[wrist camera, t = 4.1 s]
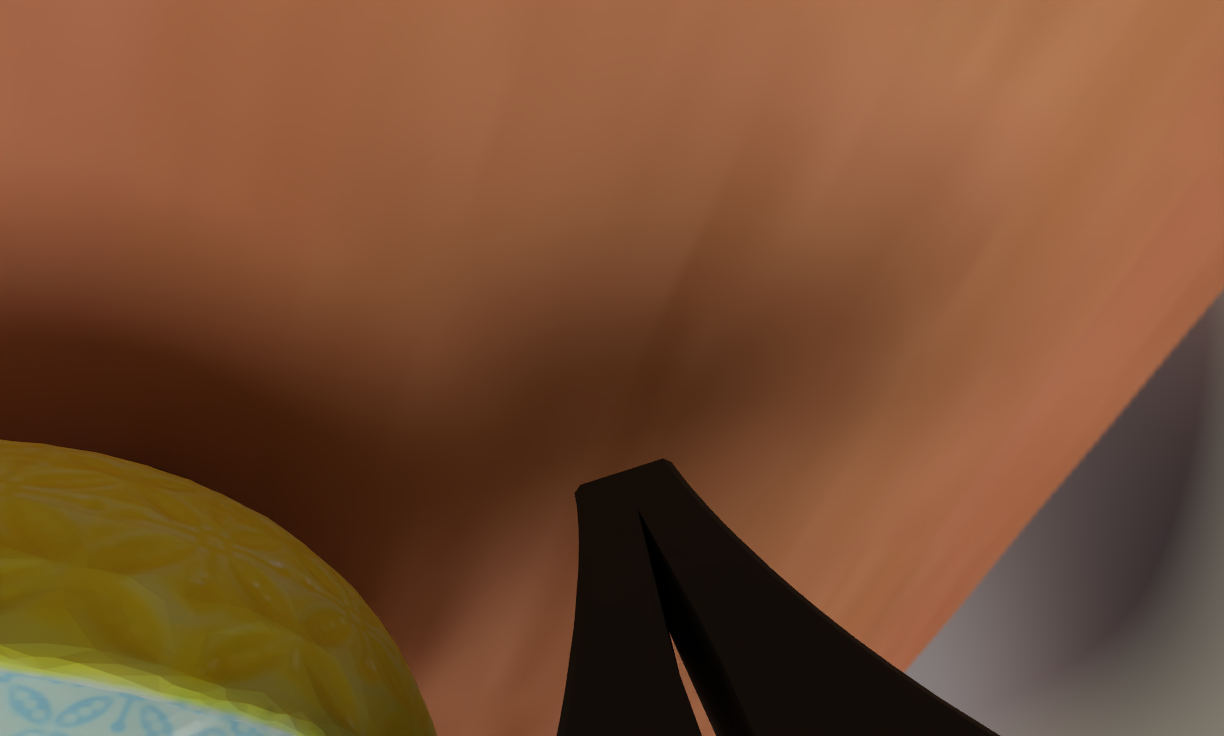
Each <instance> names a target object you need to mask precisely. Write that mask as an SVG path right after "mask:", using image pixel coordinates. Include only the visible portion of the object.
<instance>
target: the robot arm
mask: <svg viewBox="0 0 1224 736" xmlns="http://www.w3.org/2000/svg"><path fill="white" fill-rule="evenodd" d="M575 498H576V504H577V512H578V525H579V566H578V582H577V595H576V609H575V621H574V630H573V637H572V645H571V652H570V659H569V666H568V673H567V680H566V687H565V694H564V699H563V705H562V711H561V716H560V722H559V727H558V732H557V736H702V735H701V732H700V729H699V726H698V724H697V721H696V718H695V715H694V713H693V710H692V707H691V704H690V702H689V699H688V696H687V693H686V691H685V688H684V685H683V682H682V680H681V677H680V674H679V670H678V666H677V662H676V658H675V654H674V649H673V645H672V641H671V637H672V639H673V641H674V643H675V646H676V648H677V650H678V652H679V654H680V657H681V659H682V661H683V663H684V666H685V668H686V670H687V672H688V674H689V677H690V679H691V681H692V683H693V686H694V688H695V690H696V692H697V694H698V697H699V699H700V701H701V703H702V705H703V708H704V710H705V712H706V714H707V716H708V719H709V721H710V723H711V725H712V727H713V730H714V732H715V734H716V736H1000V735H998V734H997V733H995V732H993V731H992V730H990V729H989V728H987V727H985V726H984V725H982V724H980V723H979V722H977V721H976V720H974V719H973V718H971V717H969V716H968V715H966V714H965V713H963V712H961V711H960V710H958V709H957V708H955V707H953V706H952V705H950V704H949V703H947V702H946V701H944V700H942V699H941V698H939V697H938V696H936V695H935V694H933V693H932V692H930V691H929V690H928V689H926V688H925V687H923V686H921V685H920V684H919V683H917V682H916V681H914V680H913V679H912V678H910V677H909V676H907V675H906V674H904V673H903V672H902V671H900V670H899V669H897V668H896V667H894V666H893V665H891V664H890V663H889V662H887V661H886V660H885V659H883V658H882V657H881V656H879V655H878V654H876V653H875V652H874V651H872V650H871V649H870V648H868V647H867V646H866V645H864V644H863V643H861V642H860V641H859V640H857V639H856V638H855V637H853V636H852V635H851V634H850V633H848V632H847V631H846V630H844V629H843V628H842V627H841V626H839V625H838V624H837V623H835V622H834V621H833V620H832V619H830V618H829V617H828V616H827V615H825V614H824V613H823V612H822V611H820V610H819V609H818V608H817V607H816V606H814V605H813V604H812V603H811V602H810V601H808V600H807V599H806V598H805V597H804V596H803V595H801V594H800V593H799V592H798V591H797V590H795V589H794V588H793V587H792V586H791V585H789V584H788V583H787V582H786V581H785V580H784V579H783V578H782V577H780V576H779V575H778V574H777V573H776V572H775V571H774V570H772V569H771V568H770V567H769V566H768V565H767V564H766V563H765V562H764V561H763V560H762V559H761V558H760V557H759V556H757V555H756V554H755V553H754V552H753V551H752V550H751V549H750V548H749V547H748V546H747V545H746V544H745V543H744V542H743V541H742V540H741V539H739V538H738V537H737V536H736V535H735V534H734V533H733V532H732V531H731V530H730V529H729V528H728V527H727V526H726V525H725V524H724V523H723V522H722V521H721V520H720V519H719V517H718V516H717V515H716V514H715V513H714V512H713V511H712V510H711V509H710V508H709V507H708V506H707V505H706V504H705V503H704V501H703V500H702V499H701V498H700V497H699V496H698V495H697V494H696V492H695V491H694V490H693V489H692V488H691V487H690V485H689V484H688V483H687V482H686V481H685V479H684V478H683V477H682V476H681V474H680V473H679V472H678V470H677V469H676V468H675V466H674V465H673V463H672V462H670V461H667V460H665V459H660V460H657V461H654V462H651V463H648V464H645V465H641V466H638V467H635V468H632V469H629V470H626V471H623V472H619V473H616V474H613V475H610V476H607V477H604V478H601V479H598V480H594V481H591V482H588V483H585V484H582V485H580V486H579V488H578V489H577V491H576V492H575ZM669 632H670V633H669ZM670 634H671V637H670Z"/></svg>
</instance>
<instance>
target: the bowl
mask: <svg viewBox="0 0 1224 736" xmlns="http://www.w3.org/2000/svg"><path fill="white" fill-rule="evenodd" d="M0 736H437V734H436V731H435V728H434V725H433V722H432V719H431V717H430V714H429V712H428V709H427V707H426V704H425V702H424V700H423V697H422V695H421V693H420V691H419V688H418V686H417V684H416V681H415V679H414V677H413V674H412V672H411V671H410V669H409V667H408V665H407V663H406V661H405V659H404V658H403V656H402V654H401V652H400V650H399V648H398V646H397V645H396V643H395V641H394V640H393V638H392V637H391V636H390V634H389V633H388V631H387V630H386V628H385V627H384V625H383V624H382V622H381V621H380V620H379V618H378V617H377V616H376V615H375V613H374V612H373V611H372V610H371V609H370V607H369V606H368V605H367V604H366V602H365V601H364V600H363V599H362V597H361V596H360V595H359V594H358V592H357V591H356V590H355V589H354V588H353V587H352V586H351V585H350V584H349V583H348V582H347V581H346V580H345V579H344V578H343V577H342V576H341V575H340V574H339V573H338V572H336V571H335V570H334V569H333V568H332V567H331V566H329V565H328V564H327V563H326V562H325V561H324V560H322V559H321V558H320V557H319V556H317V555H316V554H315V553H314V552H312V551H311V550H310V549H309V548H308V547H307V546H306V545H305V544H303V543H302V542H301V541H299V540H298V539H297V538H295V537H294V536H293V535H292V534H290V533H289V532H287V531H286V530H285V529H283V528H282V527H280V526H279V525H278V524H276V523H275V522H273V521H272V520H270V519H269V518H268V517H266V516H264V515H262V514H260V513H258V512H256V511H254V510H252V509H249V508H247V507H245V506H244V505H242V504H241V503H238V502H236V501H234V500H232V499H231V498H229V497H227V496H225V495H223V494H221V493H218V492H216V491H213V490H211V489H208V488H206V487H204V486H201V485H199V484H197V483H195V482H194V481H192V480H189V479H186V478H183V477H180V476H176V475H173V474H170V473H167V472H164V471H161V470H158V469H155V468H152V467H150V466H148V465H143V464H139V463H136V462H132V461H128V460H124V459H120V458H116V457H112V456H109V455H105V454H101V453H97V452H91V451H84V450H77V449H71V448H65V447H58V446H53V445H48V444H42V443H29V442H16V441H8V440H0Z"/></svg>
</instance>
